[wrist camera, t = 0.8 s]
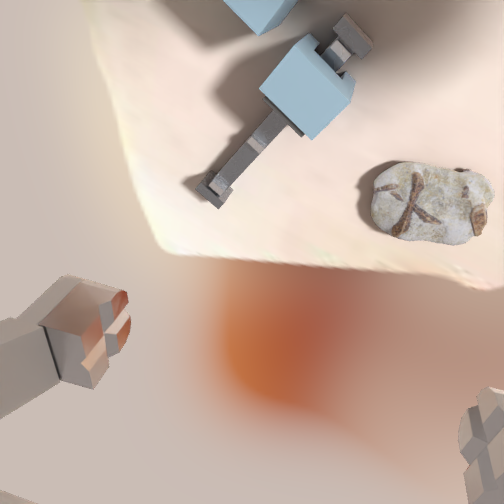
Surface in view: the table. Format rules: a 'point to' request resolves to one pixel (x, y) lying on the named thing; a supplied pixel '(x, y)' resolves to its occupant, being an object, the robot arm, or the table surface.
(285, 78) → the light blue rectangular block
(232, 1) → the light blue block
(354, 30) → the rail
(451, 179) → the stone
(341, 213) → the table surface
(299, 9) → the table surface
